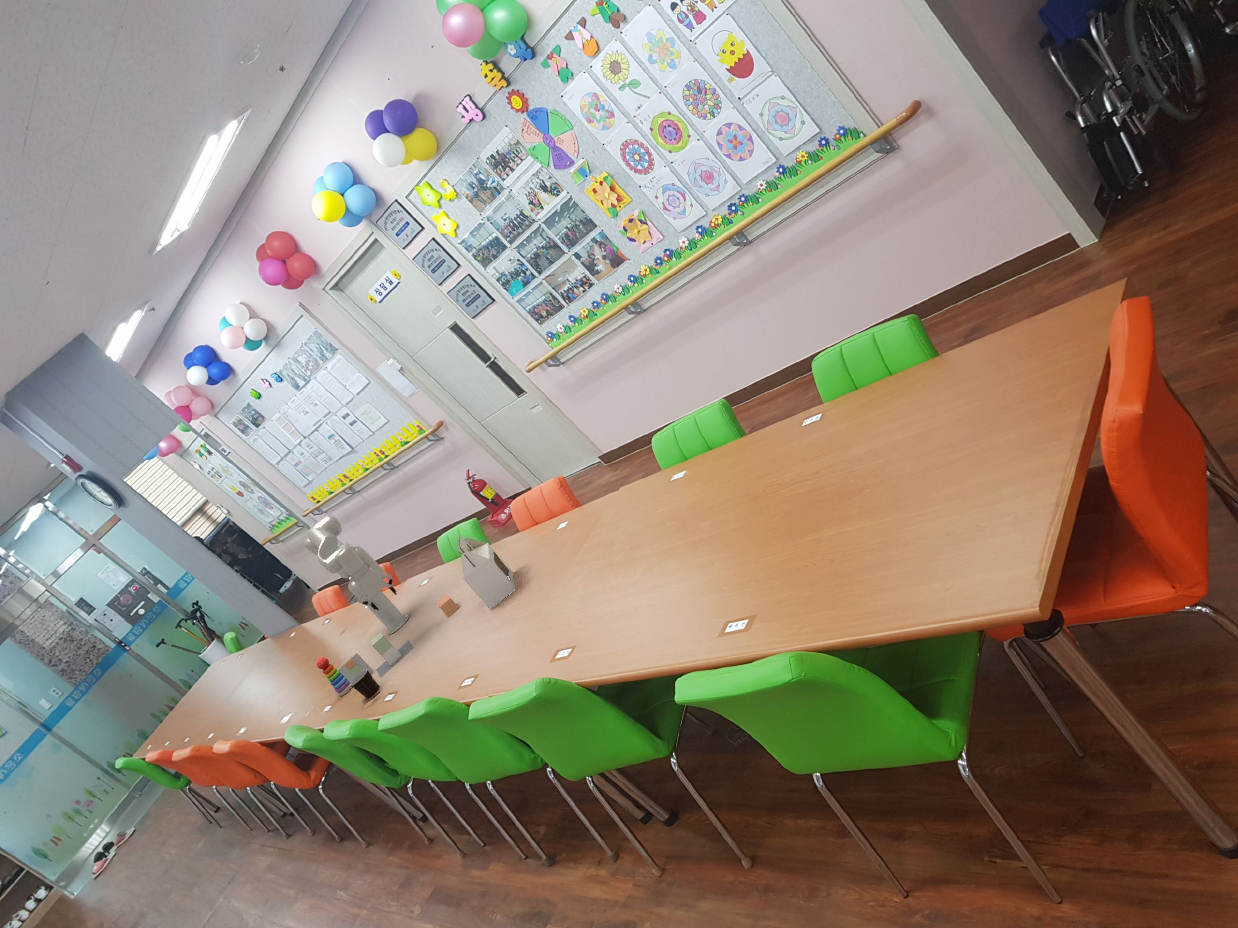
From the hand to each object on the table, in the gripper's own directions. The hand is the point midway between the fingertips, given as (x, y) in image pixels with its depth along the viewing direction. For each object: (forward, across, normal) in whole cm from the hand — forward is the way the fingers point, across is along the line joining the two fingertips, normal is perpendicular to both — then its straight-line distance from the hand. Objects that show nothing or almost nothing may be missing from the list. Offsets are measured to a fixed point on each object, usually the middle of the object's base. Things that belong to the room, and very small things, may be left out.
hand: (386, 601), depth 350 cm
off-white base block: (+21, -13, 0) cm, 25 cm away
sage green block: (+15, -13, 0) cm, 20 cm away
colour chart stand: (+22, -29, +7) cm, 37 cm away
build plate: (+22, -13, 0) cm, 26 cm away
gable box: (+23, +38, -26) cm, 51 cm away
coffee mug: (+22, -28, -17) cm, 39 cm away
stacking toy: (+22, -38, +17) cm, 47 cm away
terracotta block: (+22, +18, +1) cm, 29 cm away
